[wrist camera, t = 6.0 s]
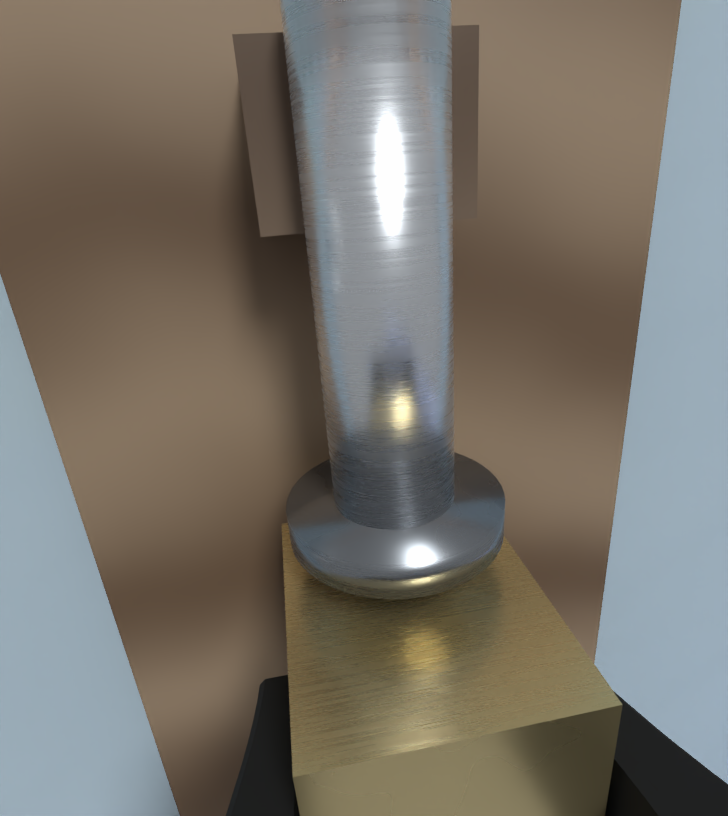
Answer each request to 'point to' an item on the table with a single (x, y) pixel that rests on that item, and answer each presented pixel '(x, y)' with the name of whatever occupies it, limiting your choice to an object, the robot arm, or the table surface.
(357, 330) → the shafts
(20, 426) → the table surface
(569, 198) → the shaft bench
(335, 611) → the wooden block
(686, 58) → the table surface
